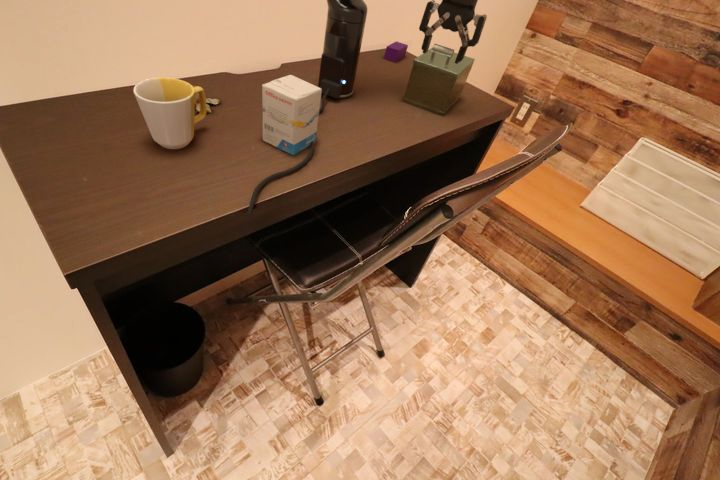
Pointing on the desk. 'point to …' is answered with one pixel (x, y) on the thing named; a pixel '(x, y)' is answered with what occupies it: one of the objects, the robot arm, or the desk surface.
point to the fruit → (208, 100)
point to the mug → (170, 109)
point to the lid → (443, 60)
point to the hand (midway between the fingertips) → (440, 57)
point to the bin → (434, 88)
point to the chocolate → (395, 51)
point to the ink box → (290, 113)
